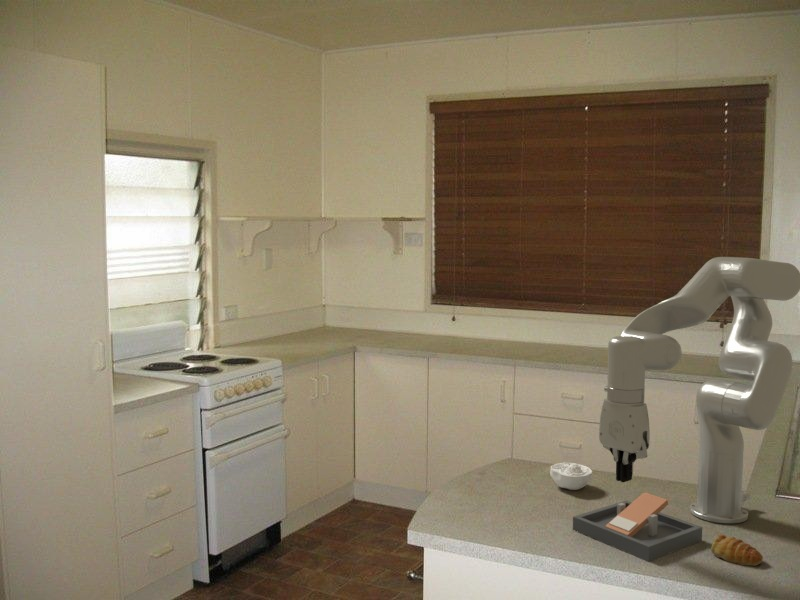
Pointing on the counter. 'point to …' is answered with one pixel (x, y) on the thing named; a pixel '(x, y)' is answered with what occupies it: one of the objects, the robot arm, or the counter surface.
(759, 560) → the pastry
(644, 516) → the rocker
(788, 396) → the counter surface
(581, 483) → the cell model
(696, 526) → the breaker panel
